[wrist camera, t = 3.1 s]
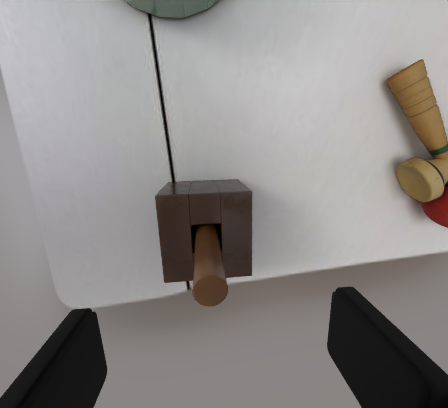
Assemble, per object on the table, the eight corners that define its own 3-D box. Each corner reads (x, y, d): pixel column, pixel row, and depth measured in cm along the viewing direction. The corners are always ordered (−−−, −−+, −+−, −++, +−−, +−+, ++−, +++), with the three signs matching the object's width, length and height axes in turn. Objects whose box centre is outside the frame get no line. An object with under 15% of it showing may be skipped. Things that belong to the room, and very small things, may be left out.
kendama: (345, 104, 25) (415, 239, 27) (399, 73, 19) (485, 252, 21) (396, 72, 26) (459, 204, 28) (463, 32, 20) (539, 206, 22)
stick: (197, 222, 25) (193, 308, 12) (196, 206, 25) (191, 277, 11) (213, 221, 25) (228, 305, 12) (212, 205, 25) (227, 274, 11)
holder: (173, 247, 25) (164, 283, 19) (167, 182, 24) (154, 195, 17) (238, 243, 26) (252, 275, 19) (237, 179, 24) (252, 190, 18)
